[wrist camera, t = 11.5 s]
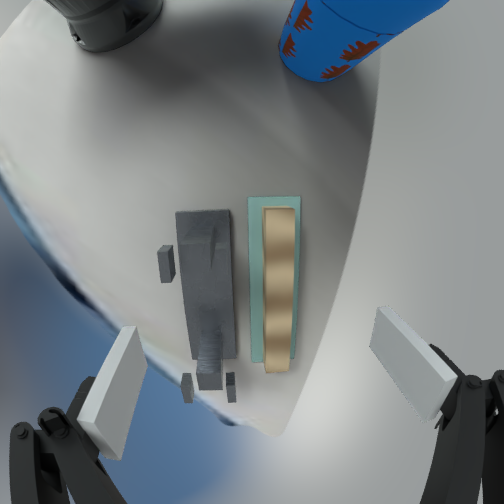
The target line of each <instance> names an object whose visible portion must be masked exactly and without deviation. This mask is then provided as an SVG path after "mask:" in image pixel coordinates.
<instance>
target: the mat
mask: <svg viewBox="0 0 504 504" xmlns="http://www.w3.org/2000/svg"><path fill="white" fill-rule="evenodd" d="M262 206H289V207H291V208H293V209H295V247H294V284H293V308H292V329H291V346H290V359H294V353H295V338H296V322H297V304H298V282H299V252H300V196H281V197H248V238H249V279H250V317H251V354H252V362H263V266H262Z"/></svg>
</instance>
